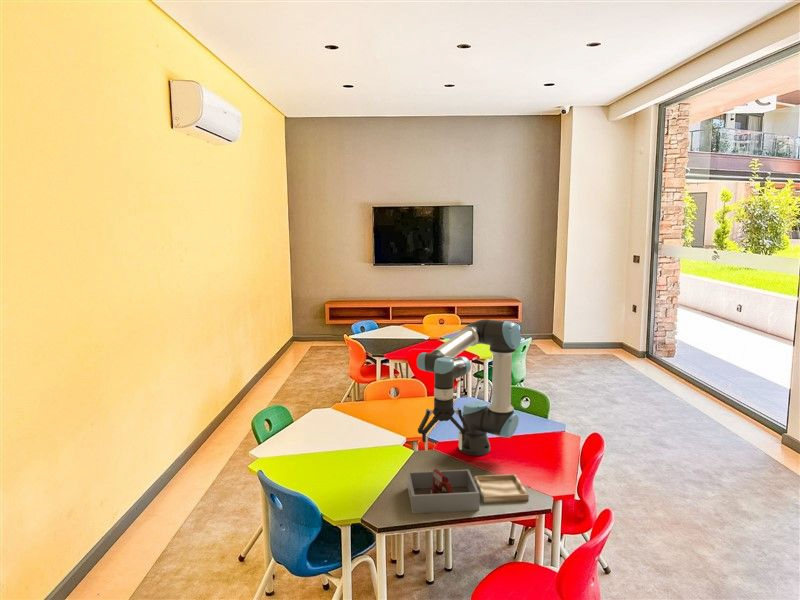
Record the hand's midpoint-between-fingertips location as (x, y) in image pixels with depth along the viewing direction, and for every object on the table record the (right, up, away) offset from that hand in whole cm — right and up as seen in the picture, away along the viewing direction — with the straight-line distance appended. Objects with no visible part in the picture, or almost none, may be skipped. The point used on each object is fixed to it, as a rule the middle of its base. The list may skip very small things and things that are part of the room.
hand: (443, 449), depth 218 cm
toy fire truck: (0, -21, +3) cm, 21 cm away
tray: (+24, -20, +9) cm, 33 cm away
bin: (0, -21, +3) cm, 21 cm away
